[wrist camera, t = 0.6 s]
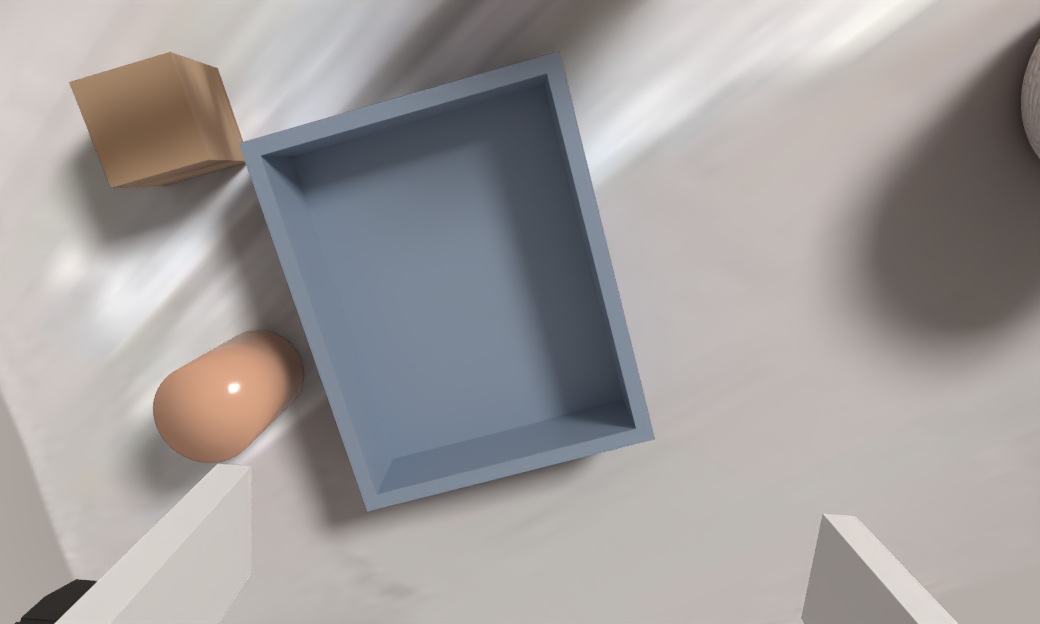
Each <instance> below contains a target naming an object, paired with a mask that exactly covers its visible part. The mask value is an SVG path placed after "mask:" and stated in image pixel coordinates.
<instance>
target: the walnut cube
mask: <svg viewBox="0 0 1040 624" xmlns="http://www.w3.org/2000/svg"><path fill="white" fill-rule="evenodd" d="M69 83H70V86H71V88H72V91H73V93H74V96H75V98H76V101H77V103H78V106H79V108H80V111H81V114H82V116H83V119H84V121H85V124H86V126H87V129H88V131H89V134H90V136H91V139H92V141H93V144H94V147H95V149H96V152H97V154H98V157H99V159H100V162H101V164H102V167H103V169H104V172H105V174H106V177H107V180H108V182H109V185H110V187H111V188H119V187H144V186H165V185H169V184H172V183H176V182H179V181H183V180H186V179H190V178H193V177H197V176H200V175H204V174H207V173H210V172H214V171H217V170H221V169H224V168H228V167H231V166H235V165H238V164H242V163H245V160H244V157H243V154H242V151H241V149H240V146H239V143H242V142H243V140H242V137H241V134H240V131H239V128H238V125H237V123H236V120H235V117H234V114H233V111H232V108H231V105H230V102H229V100H228V97H227V94H226V91H225V88H224V85H223V82H222V79H221V77H220V74H219V71H218V68H215V67H212V66H209V65H206V64H203V63H200V62H197V61H194V60H192V59H189V58H186V57H183V56H180V55H177V54H174V53H171V52H169V53H165V54H162V55H158V56H155V57H152V58H148V59H145V60H142V61H138V62H135V63H132V64H128V65H125V66H122V67H118V68H115V69H112V70H108V71H105V72H102V73H98V74H95V75H92V76H88V77H85V78H82V79H78V80H75V81H72V82H69Z"/></svg>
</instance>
